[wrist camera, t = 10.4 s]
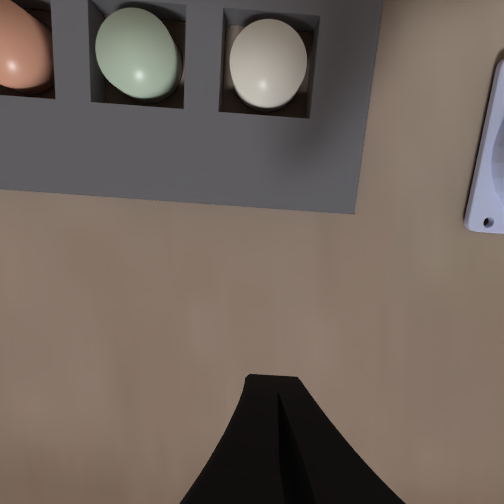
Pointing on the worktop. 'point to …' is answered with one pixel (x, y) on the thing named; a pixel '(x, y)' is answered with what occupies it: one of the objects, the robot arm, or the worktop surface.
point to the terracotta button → (24, 51)
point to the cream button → (267, 64)
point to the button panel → (198, 114)
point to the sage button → (138, 55)
